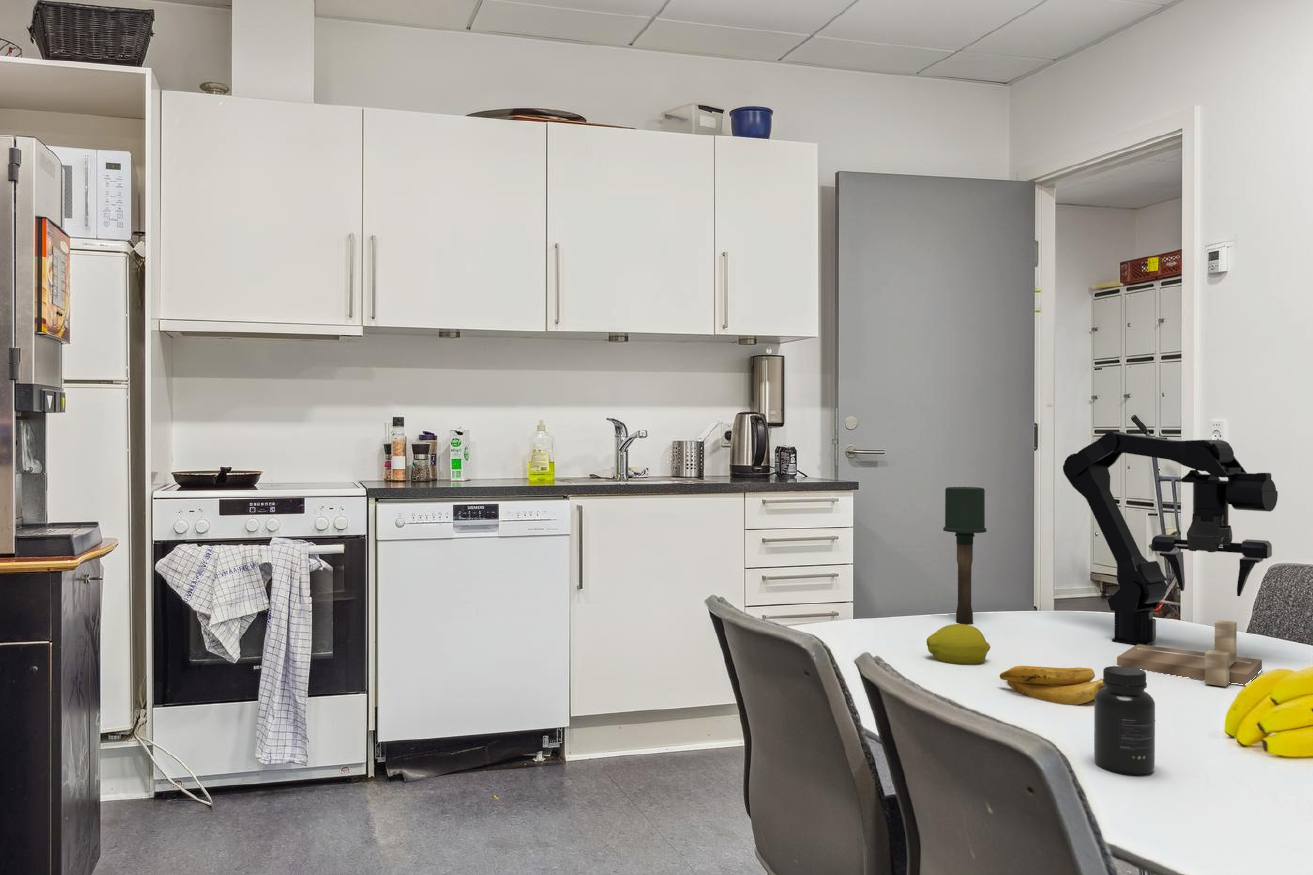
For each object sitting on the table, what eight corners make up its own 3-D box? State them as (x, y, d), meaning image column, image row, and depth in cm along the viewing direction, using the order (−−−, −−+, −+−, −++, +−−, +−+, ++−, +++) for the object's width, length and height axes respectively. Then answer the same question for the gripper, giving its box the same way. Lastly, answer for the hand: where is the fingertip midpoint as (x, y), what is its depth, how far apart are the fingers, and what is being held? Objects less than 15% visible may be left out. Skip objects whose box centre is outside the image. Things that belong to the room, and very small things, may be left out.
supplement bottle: (1083, 758, 127) (1083, 664, 127) (1135, 757, 128) (1135, 663, 128) (1112, 777, 120) (1113, 677, 120) (1166, 775, 121) (1167, 676, 121)
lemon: (987, 666, 178) (987, 621, 178) (994, 676, 170) (994, 629, 170) (924, 663, 179) (924, 619, 179) (928, 674, 172) (928, 627, 172)
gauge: (1205, 683, 164) (1205, 628, 164) (1221, 668, 175) (1221, 617, 174) (1225, 686, 162) (1225, 631, 162) (1240, 671, 173) (1241, 619, 173)
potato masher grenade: (986, 630, 210) (986, 487, 210) (985, 638, 202) (986, 489, 201) (944, 627, 212) (944, 486, 212) (941, 635, 204) (942, 488, 204)
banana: (1143, 711, 150) (1143, 673, 150) (1016, 711, 150) (1017, 673, 149) (1097, 685, 165) (1097, 651, 165) (982, 685, 165) (982, 650, 165)
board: (1117, 668, 176) (1117, 656, 176) (1137, 654, 187) (1138, 643, 187) (1247, 686, 163) (1247, 673, 163) (1262, 671, 174) (1262, 659, 174)
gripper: (1144, 508, 183) (1143, 593, 183) (1262, 513, 172) (1261, 604, 172) (1159, 504, 192) (1158, 586, 192) (1272, 509, 180) (1272, 596, 180)
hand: (1210, 593), depth 184 cm, fingers open, 9 cm apart
